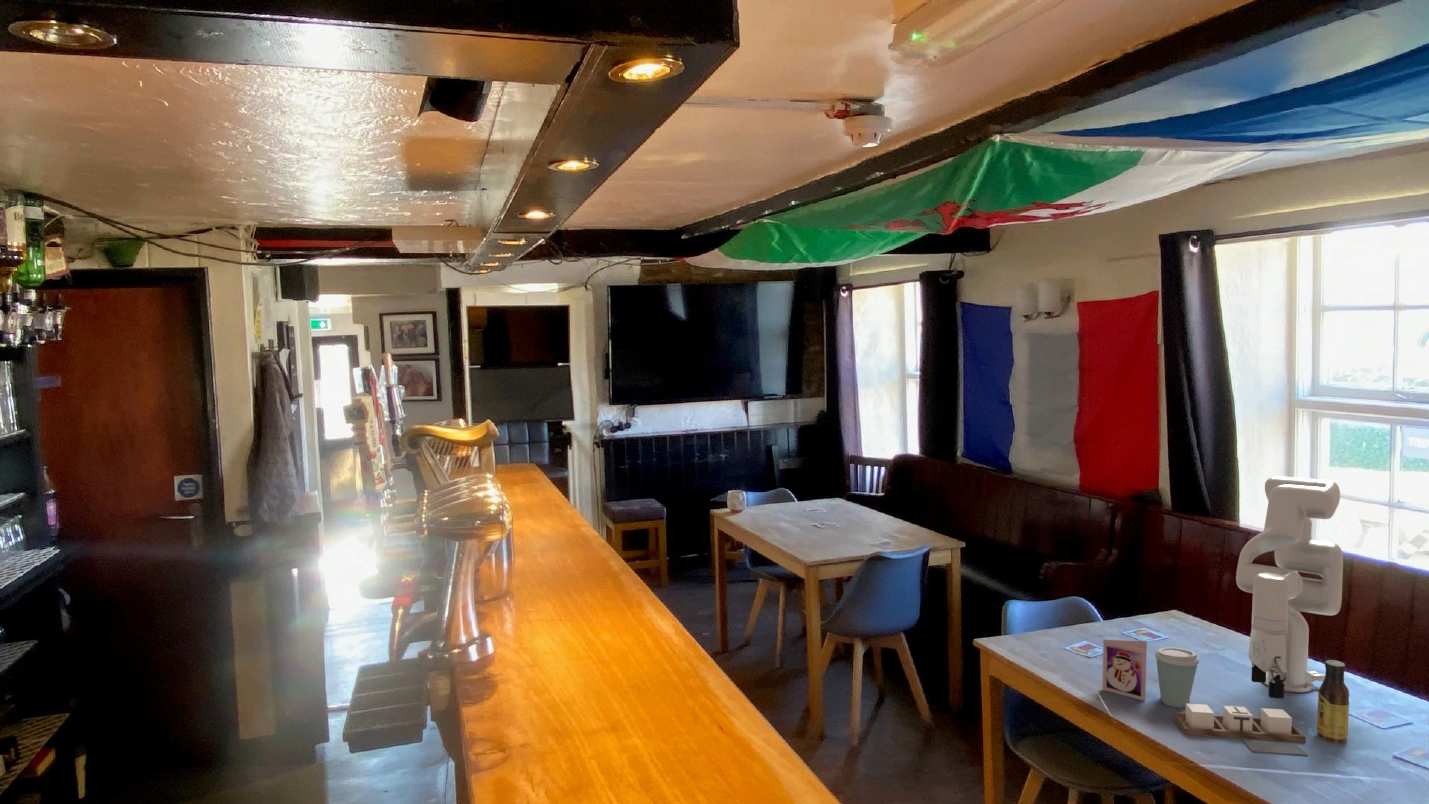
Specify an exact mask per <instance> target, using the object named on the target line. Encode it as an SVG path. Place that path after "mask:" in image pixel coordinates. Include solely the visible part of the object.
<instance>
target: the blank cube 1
mask: <svg viewBox="0 0 1429 804" xmlns="http://www.w3.org/2000/svg"><path fill="white" fill-rule="evenodd" d="M1185 713H1186V720H1185V722H1186V723H1187V725H1188V726H1189V727H1190V728H1205V729H1214V715H1215V713H1214V711H1213V710H1212V709H1211V707H1210V706H1209V705H1208V704H1205V703H1204V704H1203V703H1201V704H1200V703H1189V704H1188V703H1186V706H1185Z"/></svg>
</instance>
